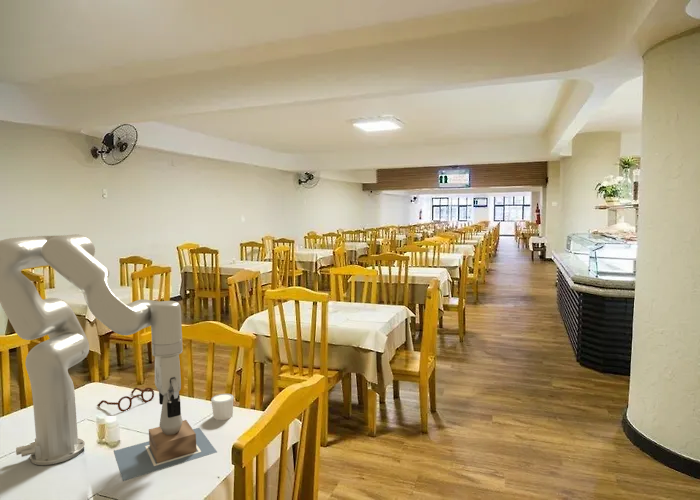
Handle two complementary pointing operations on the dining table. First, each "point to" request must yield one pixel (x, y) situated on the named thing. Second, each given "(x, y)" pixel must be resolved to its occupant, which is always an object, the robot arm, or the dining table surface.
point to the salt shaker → (169, 419)
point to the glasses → (131, 398)
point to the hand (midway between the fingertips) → (169, 409)
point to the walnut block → (172, 442)
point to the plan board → (144, 462)
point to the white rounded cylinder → (222, 406)
